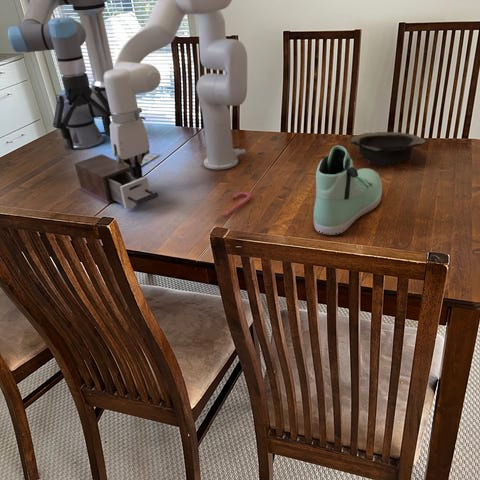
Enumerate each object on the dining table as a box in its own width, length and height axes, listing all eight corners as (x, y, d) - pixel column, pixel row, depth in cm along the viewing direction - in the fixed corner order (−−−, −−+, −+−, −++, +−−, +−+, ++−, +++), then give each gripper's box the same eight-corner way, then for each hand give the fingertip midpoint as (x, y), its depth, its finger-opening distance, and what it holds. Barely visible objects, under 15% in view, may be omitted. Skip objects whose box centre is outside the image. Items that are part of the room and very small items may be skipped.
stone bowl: (383, 178, 153) (383, 150, 149) (335, 160, 174) (334, 135, 169) (439, 159, 162) (442, 132, 158) (387, 144, 182) (388, 120, 178)
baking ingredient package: (116, 165, 178) (140, 152, 189) (116, 167, 178) (140, 153, 189) (135, 168, 174) (158, 154, 186) (135, 169, 174) (158, 155, 186)
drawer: (162, 204, 148) (158, 182, 144) (137, 215, 142) (133, 193, 138) (122, 185, 162) (117, 164, 158) (98, 194, 157) (93, 173, 153)
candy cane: (211, 213, 142) (210, 209, 141) (240, 193, 152) (239, 189, 151) (227, 218, 139) (226, 213, 138) (255, 197, 149) (255, 193, 148)
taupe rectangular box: (136, 192, 158) (130, 166, 154) (108, 204, 153) (102, 177, 148) (107, 179, 170) (101, 154, 165) (81, 189, 164) (74, 163, 159)
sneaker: (389, 187, 148) (396, 123, 138) (356, 242, 123) (361, 168, 112) (346, 181, 154) (350, 119, 144) (306, 232, 129) (307, 161, 118)
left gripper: (103, 64, 154) (117, 129, 165) (28, 81, 140) (49, 150, 151) (116, 67, 149) (129, 133, 160) (40, 84, 135) (59, 156, 146)
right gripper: (140, 107, 139) (150, 166, 149) (94, 121, 131) (108, 182, 140) (155, 111, 135) (165, 172, 144) (109, 126, 126) (122, 189, 136)
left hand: (90, 141), depth 155 cm, fingers open, 13 cm apart
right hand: (137, 177), depth 142 cm, fingers closed
